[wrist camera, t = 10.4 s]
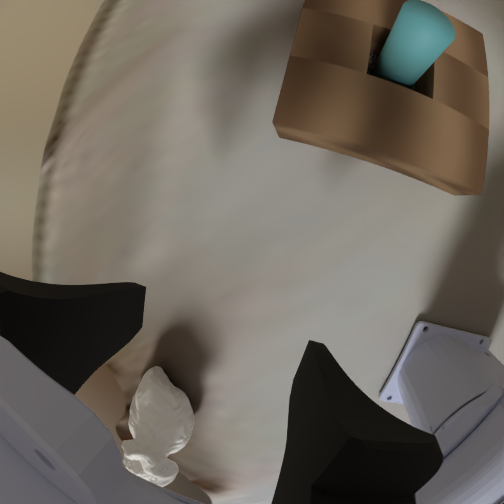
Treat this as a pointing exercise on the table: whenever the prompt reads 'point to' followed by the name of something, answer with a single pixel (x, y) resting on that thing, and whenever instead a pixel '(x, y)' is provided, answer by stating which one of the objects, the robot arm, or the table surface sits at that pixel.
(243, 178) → the table surface
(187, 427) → the bust
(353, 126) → the hole block
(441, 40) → the peg
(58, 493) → the robot arm
